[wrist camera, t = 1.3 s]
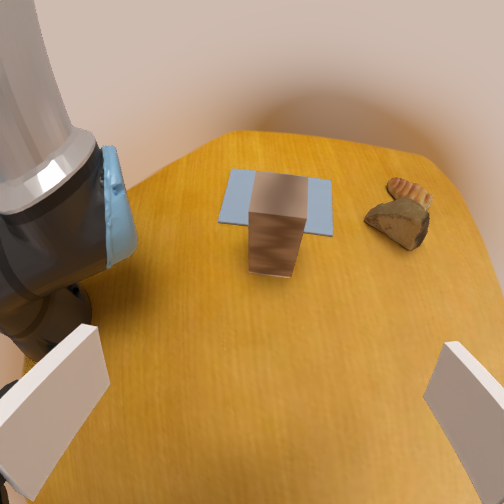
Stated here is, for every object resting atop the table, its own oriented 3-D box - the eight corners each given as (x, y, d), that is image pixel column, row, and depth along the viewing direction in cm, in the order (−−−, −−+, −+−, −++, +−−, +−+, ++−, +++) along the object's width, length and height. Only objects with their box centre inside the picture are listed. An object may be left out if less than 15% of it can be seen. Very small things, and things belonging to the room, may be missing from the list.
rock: (350, 214, 45) (392, 257, 39) (381, 171, 41) (429, 212, 35) (376, 222, 52) (412, 259, 47) (403, 187, 48) (442, 222, 43)
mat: (218, 222, 47) (218, 221, 46) (231, 170, 53) (231, 168, 52) (332, 236, 45) (332, 235, 45) (330, 182, 52) (331, 180, 51)
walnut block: (248, 273, 42) (248, 211, 30) (254, 237, 45) (256, 171, 33) (290, 278, 42) (307, 218, 30) (293, 242, 45) (308, 177, 33)
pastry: (379, 195, 51) (386, 181, 47) (392, 177, 53) (398, 164, 50) (420, 223, 48) (429, 210, 44) (430, 203, 50) (438, 190, 47)
